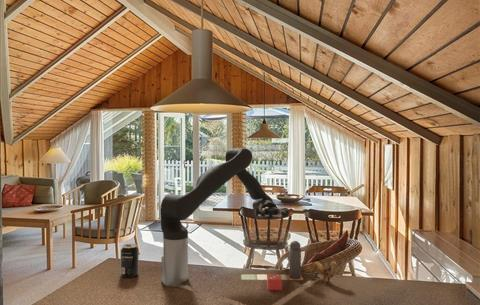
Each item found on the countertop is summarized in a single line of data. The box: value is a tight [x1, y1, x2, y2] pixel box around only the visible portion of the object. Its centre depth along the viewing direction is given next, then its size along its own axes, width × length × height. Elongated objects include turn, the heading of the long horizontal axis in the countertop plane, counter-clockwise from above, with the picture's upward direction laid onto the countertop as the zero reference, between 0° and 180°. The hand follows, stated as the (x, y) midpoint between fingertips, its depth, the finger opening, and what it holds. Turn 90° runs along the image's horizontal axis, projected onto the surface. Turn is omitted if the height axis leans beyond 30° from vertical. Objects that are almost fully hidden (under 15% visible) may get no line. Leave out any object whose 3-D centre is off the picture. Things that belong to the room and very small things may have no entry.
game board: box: [240, 274, 312, 288], centre depth 141 cm, size 28×12×1 cm, turn 90°
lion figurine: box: [310, 261, 340, 286], centre depth 140 cm, size 15×5×9 cm, turn 36°
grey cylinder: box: [288, 240, 302, 279], centre depth 141 cm, size 4×4×14 cm
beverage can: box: [120, 243, 139, 278], centre depth 145 cm, size 7×7×12 cm
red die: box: [266, 274, 283, 291], centre depth 131 cm, size 5×5×5 cm
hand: (274, 214), depth 151 cm, fingers open, 8 cm apart
